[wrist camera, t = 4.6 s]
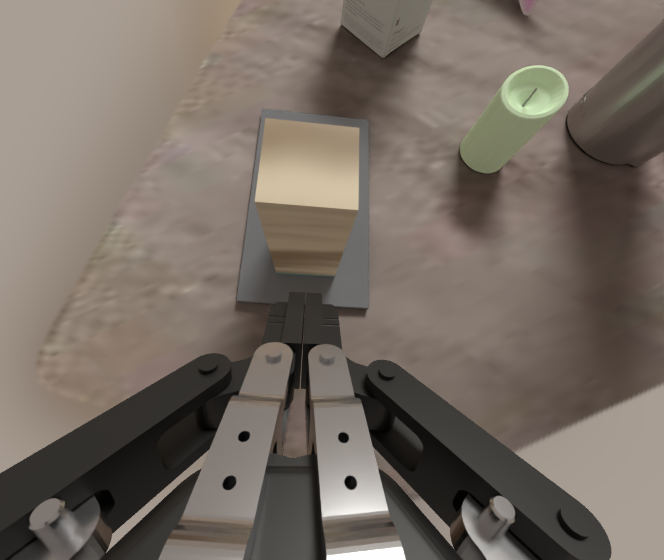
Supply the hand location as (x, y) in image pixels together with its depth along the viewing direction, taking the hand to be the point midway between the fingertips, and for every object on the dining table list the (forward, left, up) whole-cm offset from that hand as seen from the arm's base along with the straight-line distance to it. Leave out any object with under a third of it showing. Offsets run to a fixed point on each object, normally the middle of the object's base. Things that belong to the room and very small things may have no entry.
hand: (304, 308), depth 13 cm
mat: (+5, -11, -11) cm, 16 cm away
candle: (-8, -26, -11) cm, 29 cm away
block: (+3, -7, -10) cm, 13 cm away
